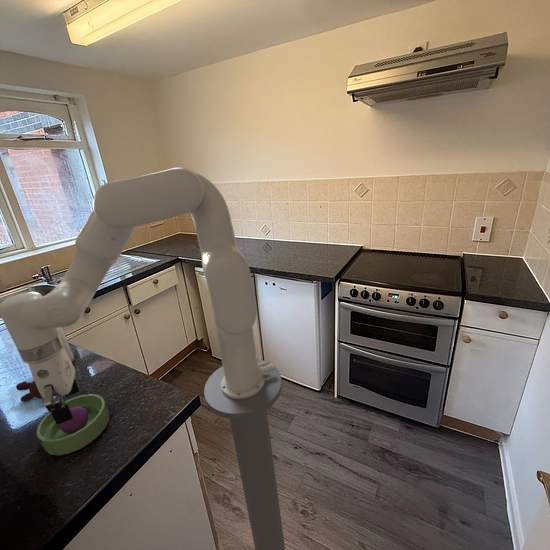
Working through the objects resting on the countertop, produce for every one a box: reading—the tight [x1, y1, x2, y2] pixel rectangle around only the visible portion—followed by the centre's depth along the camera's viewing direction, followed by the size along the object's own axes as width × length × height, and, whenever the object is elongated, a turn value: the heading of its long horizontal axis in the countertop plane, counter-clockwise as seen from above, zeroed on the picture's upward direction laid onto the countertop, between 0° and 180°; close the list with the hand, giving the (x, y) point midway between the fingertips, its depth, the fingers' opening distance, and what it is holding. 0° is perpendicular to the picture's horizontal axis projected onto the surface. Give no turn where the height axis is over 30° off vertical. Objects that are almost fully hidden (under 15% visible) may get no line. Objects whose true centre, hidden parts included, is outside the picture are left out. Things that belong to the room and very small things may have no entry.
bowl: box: [36, 393, 110, 456], centre depth 74 cm, size 14×14×5 cm
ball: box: [59, 407, 88, 434], centre depth 73 cm, size 6×6×6 cm
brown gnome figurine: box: [15, 380, 43, 403], centre depth 87 cm, size 7×7×15 cm
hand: (68, 406), depth 72 cm, fingers open, 9 cm apart
